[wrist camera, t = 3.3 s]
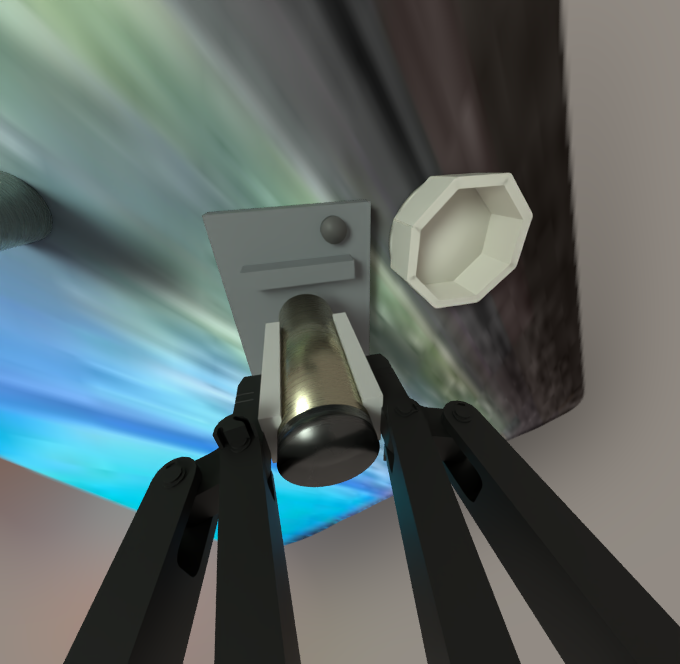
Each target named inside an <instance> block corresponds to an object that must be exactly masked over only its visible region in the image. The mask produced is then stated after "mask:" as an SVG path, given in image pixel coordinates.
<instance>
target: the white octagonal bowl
mask: <svg viewBox="0 0 680 664" xmlns="http://www.w3.org/2000/svg"><path fill="white" fill-rule="evenodd" d="M531 219H532V212H531V210H530V208H529V206H528V204H527V203H526V201H525V199H524V197H523V195H522V193H521V191H520V189H519V187H518V185H517V184H516V182H515V180H514V178H513V176H512V174H510V173H469V174H455V175H441V176H431V177H429V178H428V179H427V181H426V182H425V183H424V184H422V185H421V186H419V187H418V188H417V189H416V190H414V191H413V192H412V193H411V194H410V195H409V196H408V198H407V199H406V200H405V201H404V203H403V204H402V206H401V207H400V209H399V210H398V212H397V214H396V216H395V218H394V220H393V224H392V227H391V231H390V236H389V254H390V259H391V268H392V269H393V270H394V271H395V272H396V273H397V274H398V275H399V276H400V277H401V278H402V279H403V280H404V281H405V282H406V283H407V284H408V285H410V286H411V287H412V288H413V289H414V290H415V291H416V292H417V293H418V294H419V295H420V296H421V297H423V298H424V299H425V300H426V301H427V302H428V303H429V304H431V305H432V306H433V307H434V308H442V307H449V306H456V305H463V304H470V303H476V302H477V301H478V302H479V301H480V300H481V299H482V298H483V297H484V296H485V295H486V294H487V293H488V292H489V291H491V290H492V289H493V288H494V287H495V286H496V285H497V284H498V283H499V282H500V281H502V280H503V279H504V278H505V277H506V276H507V275H508V274H509V273H510V272H511V271H512V270H514V269H515V268H516V266H517V263H518V260H519V257H520V254H521V251H522V248H523V244H524V241H525V238H526V235H527V232H528V229H529V226H530V223H531Z"/></svg>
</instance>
